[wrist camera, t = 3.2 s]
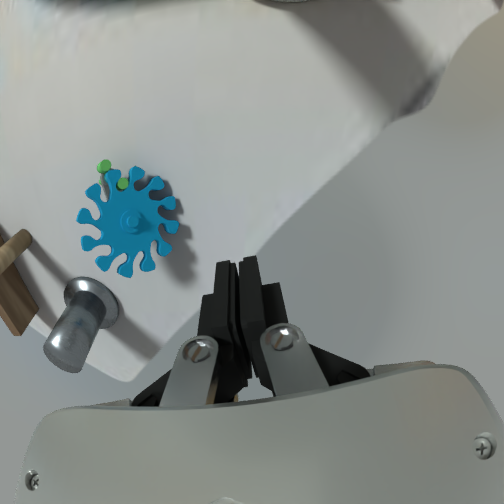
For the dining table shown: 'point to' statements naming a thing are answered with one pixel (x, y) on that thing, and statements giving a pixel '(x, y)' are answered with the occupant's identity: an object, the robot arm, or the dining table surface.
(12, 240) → the dowel pin
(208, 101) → the dining table surface
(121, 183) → the gear
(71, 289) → the post
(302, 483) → the robot arm
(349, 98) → the dining table surface
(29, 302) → the brown wooden plank
